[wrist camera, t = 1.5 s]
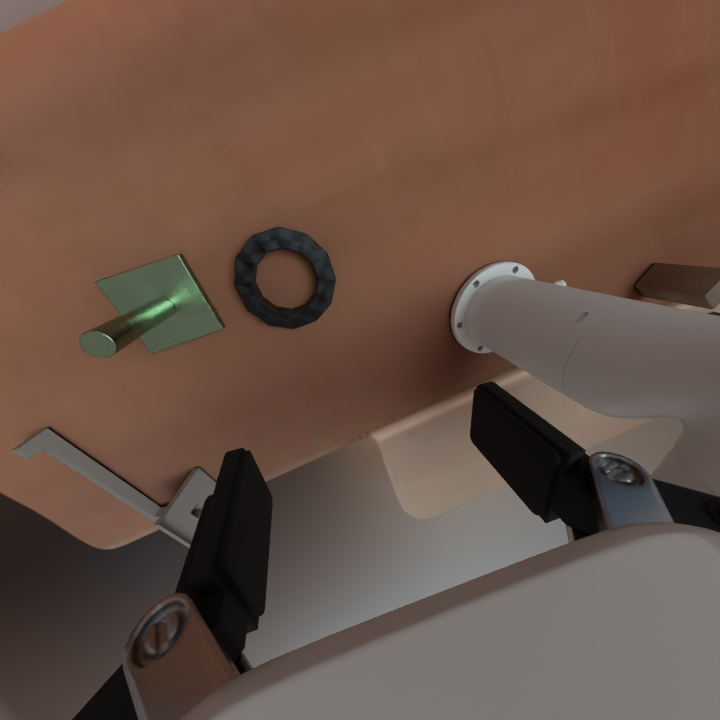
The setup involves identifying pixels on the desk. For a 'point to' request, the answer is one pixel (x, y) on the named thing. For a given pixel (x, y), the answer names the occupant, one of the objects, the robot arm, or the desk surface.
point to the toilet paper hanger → (171, 519)
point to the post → (153, 309)
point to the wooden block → (682, 284)
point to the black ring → (251, 292)
